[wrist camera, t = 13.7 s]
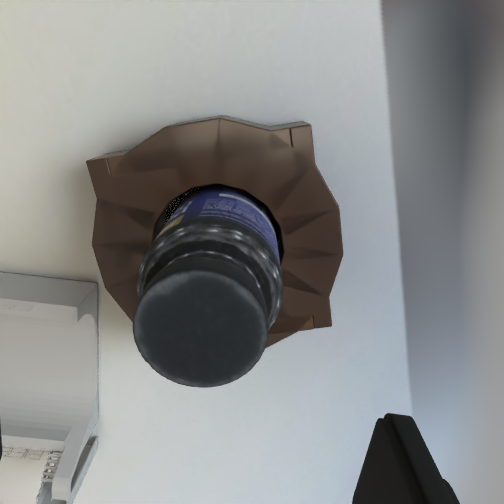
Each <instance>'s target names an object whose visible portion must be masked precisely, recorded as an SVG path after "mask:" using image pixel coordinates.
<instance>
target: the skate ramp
mask: <svg viewBox="0 0 504 504" xmlns="http://www.w3.org/2000/svg"><path fill="white" fill-rule="evenodd" d="M97 421H98V283H91V282H82V281H73V280H65V279H56V278H48V277H39V276H30V275H22V274H13V273H5V272H0V424H1V438H2V447H10V449H11V448H12V450H13V448H20V449H27V450H28V449H29V450H40V451H43V452H44V451H50V453H48V457H49V458H48V459H47V465H45V466H44V467H45V469H46V470H45V471H44V472H43V475H44V477H43V478H41V481H42V483H41V488H40V490H39V494H38V496H37V497H36V499H37V504H72V503H73V501H74V499H75V497H76V494H77V492H78V490H79V488H80V486H81V483H82V481H83V479H84V477H85V475H86V472H87V470H88V468H89V466H90V464H91V462H92V459H93V457H94V455H95V453H96V451H97V448H98V438H97V437H96V439H95V441H94V443H93V445H92V446H85V445H86V443H87V441H88V439H89V437H90V435H91V433H92V431H93V429H94V427H95V425H96V423H97ZM12 450H11V451H12ZM27 450H26V451H27ZM9 451H10V450H9ZM9 451H3V452H7V453H8V452H9ZM11 451H10V452H11ZM28 452H29V451H28ZM28 452H27V454H30V453H28ZM43 452H42V453H43ZM53 452H59V453H61V454H52V453H53ZM13 453H20V452H13ZM25 453H26V452H25ZM25 453H23V454H25ZM9 454H10V453H9ZM9 454H8V455H9ZM27 454H26V455H27ZM6 455H7V454H6ZM6 455H5V457H12V456H6ZM26 455H25V456H26ZM33 455H39V454H33ZM41 455H42V454H41ZM23 456H24V455H23ZM23 456H22V457H23ZM22 457H15V458H22ZM40 457H41V456H40ZM40 457H39V458H40ZM51 457H55V458H58V459H57V460H52V459H51ZM24 458H25V457H24ZM25 459H32V458H25ZM35 460H39V459H35ZM50 463H55V465H54V466H49V464H50ZM48 469H50V470H51V472H47V471H48ZM46 476H48V478H46ZM44 482H45V483H44Z"/></svg>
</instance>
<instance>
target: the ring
mask: <svg viewBox="0 0 504 504" xmlns="http://www.w3.org/2000/svg"><path fill="white" fill-rule="evenodd" d="M86 163H87V166H88V170H89V173H90V176H91V180H92V183H93V187H94V190H95V193H96V197H97V204H96V213H95V222H94V231H93V240H92V244H93V245H92V246H93V249H94V253H95V256H96V259H97V262H98V266H99V269H100V272H101V275H102V279H103V282H104V285H105V288H106V290H107V291H108V292H109V293H110V295H111V296H112V297H113V298H114V300H115V301H116V302H117V303H118V305H119V306H120V307H121V308H122V310H123V311H124V312H125V313H126V314H127V316H128V317H129V318H130V319H131V321H132V322H133V317H134V313H135V309H136V307H137V304H138V299H137V292H136V285H137V275H138V271H139V267H140V265H141V262H142V260H143V258H144V255H145V253H146V252H147V251H148V249H149V248H150V246H151V245H152V243H153V242H154V241H155V239H156V238H157V236H158V235H159V233H160V232H161V230H162V229H163V227H164V223H165V217H166V211H167V208H168V206H169V205H170V203H171V202H172V200H173V199H175V198H176V197H178V196H179V195H181V194H183V193H184V192H186V191H187V190H189V189H191V188H193V187H200V186H206V185H212V184H223V185H227V186H231V187H235V188H239V189H243V190H246V191H247V192H249V193H250V194H251V195H253V196H254V197H256V198H257V199H258V200H260V201H261V202H263V203H264V204H265V205H267V206H268V208H269V210H270V211H271V213H272V215H273V216H274V218H275V219H276V221H277V223H278V224H279V226H280V233H281V236H280V240H279V244H278V253H279V260H280V267H281V273H282V281H283V290H284V291H283V295H282V303H281V308H280V311H279V312H278V316H277V318H276V320H275V322H274V323H273V325H272V326H271V328H270V329H269V330H268V337H267V343H266V346H265V348H267V347H269V346H271V345H273V344H275V343H277V342H278V341H280V340H282V339H284V338H286V337H288V336H290V335H292V334H294V333H296V332H298V331H303V330H311V329H314V328H323V327H331V326H332V319H331V309H330V300H329V296H330V293H331V290H332V287H333V284H334V281H335V278H336V275H337V272H338V269H339V266H340V263H341V260H342V257H343V245H342V234H341V222H340V211H339V206H338V204H337V202H336V201H335V199H334V197H333V195H332V193H331V191H330V190H329V188H328V186H327V184H326V182H325V181H324V179H323V177H322V175H321V173H320V172H319V170H318V168H317V166H316V164H315V157H314V147H313V138H312V128H311V124H308V123H306V122H304V121H301V122H295V123H289V124H286V125H285V124H282V125H276V126H270V127H269V126H265V125H261V124H257V123H253V122H249V121H245V120H241V119H237V118H233V117H229V116H216V117H210V118H204V119H198V120H192V121H186V122H180V123H176V124H173V125H169V126H167V127H164V128H163V129H161V130H160V131H158V132H157V133H155V134H154V135H152V136H151V137H149V138H148V139H146V140H145V141H143V142H142V143H140V144H139V145H137V146H136V147H134V148H133V149H131V150H125V151H119V152H113V153H107V154H104V155H101V156H98V157H96V158H93V159H90V160H87V161H86Z"/></svg>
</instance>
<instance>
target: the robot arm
mask: <svg viewBox="0 0 504 504" xmlns="http://www.w3.org/2000/svg"><path fill="white" fill-rule="evenodd" d="M1 456H2V438H1V424H0V460H1ZM352 504H460V503H459V501H458V499H457V497H456V495H455V493H454V491H453V489H452V487H451V486H450V484H449V483H448V482H447V481H446V480H445V479H442V477H441V475H440V473H439V470H438V468H437V466H436V464H435V463H434V460H433V458H432V456H431V454H430V452H429V450H428V448H427V446H426V444H425V442H424V440H423V438H422V436H421V434H420V431H419V429H418V428H417V425H416V423H415V421H414V420H413V418H412V417H411V416H406V415H399V414H391V413H387V414H386V415H385V416H384V419H383V418H379V419H378V420H377V422H376V425H375V428H374V431H373V435H372V438H371V441H370V444H369V447H368V451H367V454H366V457H365V460H364V464H363V467H362V470H361V473H360V476H359V480H358V483H357V486H356V489H355V492H354V496H353V501H352Z"/></svg>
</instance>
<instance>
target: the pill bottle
mask: <svg viewBox="0 0 504 504" xmlns="http://www.w3.org/2000/svg"><path fill="white" fill-rule="evenodd" d="M283 291H284V290H283V281H282V273H281V267H280V260H279V253H278V246H277V239H276V233H275V227H274V222H273V220H272V217H271V215H270V213H269V211H268V209H267V208H266V206H265V205H264V203H263V202H261V201H260V200H258V199H257V198H256V197H254V196H253V195H251V194H250V193H249V192H247V191H246V190H243V189H239V188H235V187H231V186H227V185H223V184H212V185H208V186H206V187H203V188H201V189H199V190H196V191H194V192H192V193H190V194H189V195H187V196H186V197H185V198H184V199H183V201H182V202H181V203H180V204H179V205H178V207H177V209H176V210H175V211H174V213H173V214H172V216H171V217H170V219H169V220H168V221H167V223H166V224H165V226H164V227H163V229H162V230H161V232H160V233H159V235H158V236H157V238H156V239H155V241H154V242H153V243H152V245H151V246H150V248H149V249H148V251H147V252H146V253H145V255H144V258H143V260H142V262H141V265H140V267H139V271H138V275H137V285H136V292H137V299H138V304H137V307H136V309H135V313H134V317H133V334H134V339H135V343H136V345H137V347H138V350H139V352H140V353H141V355H142V357H143V358H144V360H145V361H146V362H148V363H149V364H150V366H151V367H152V368H153V369H154V370H155V371H156V372H157V373H159V374H160V375H162V376H164V377H166V378H167V379H169V380H171V381H173V382H176V383H178V384H182V385H186V386H191V387H214V386H221V385H224V384H228V383H230V382H233V381H234V380H237V379H239V378H240V377H242V376H243V375H245V374H246V373H247V372H249V371H250V370H251V369H252V368H253V367H254V365H255V364H256V363H257V362H258V361H259V359H260V358H261V356H262V353H263V352H264V349H265V346H266V343H267V337H268V330H269V329H270V328H271V326H272V325H273V323H274V322H275V320H276V318H277V316H278V312H279V311H280V308H281V303H282V295H283Z"/></svg>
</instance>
